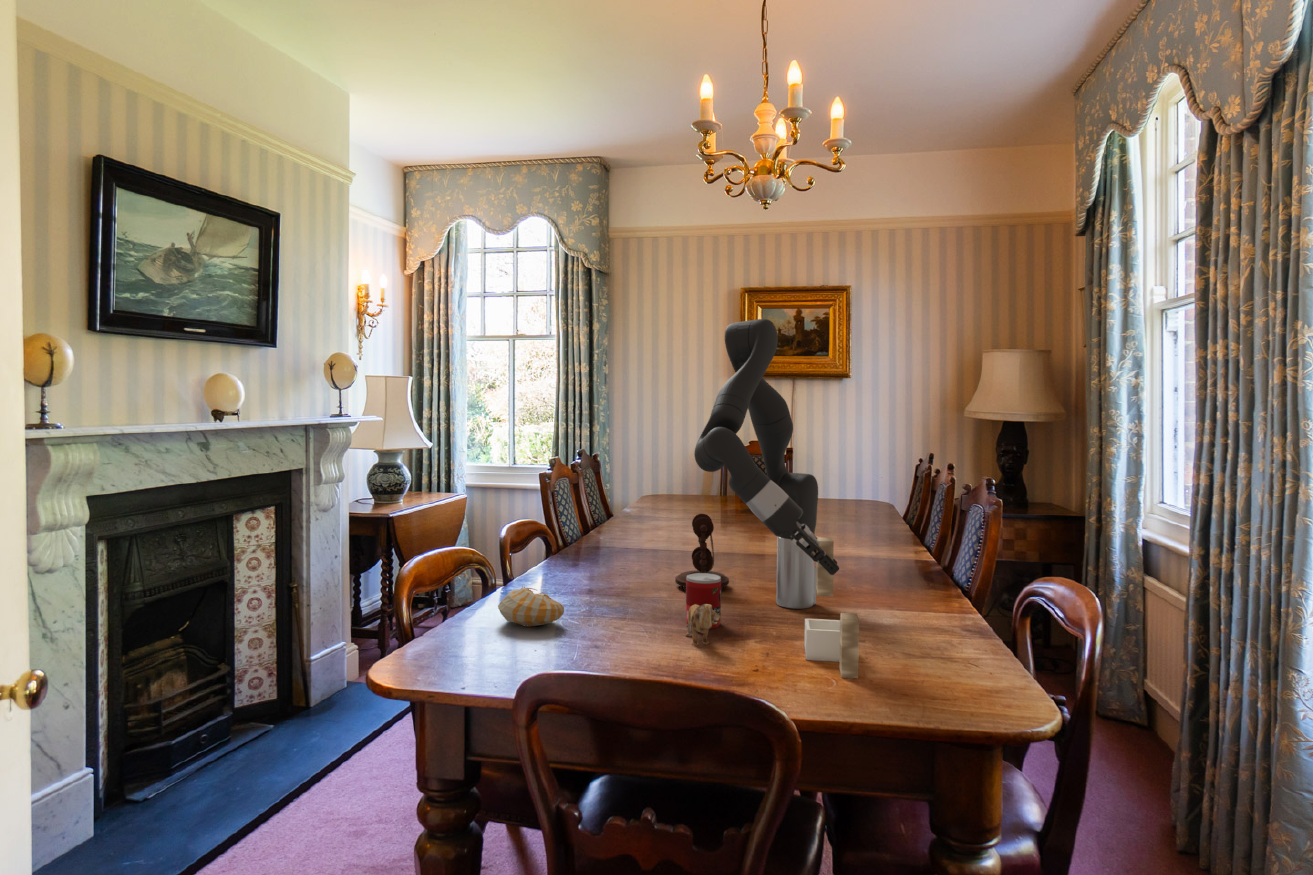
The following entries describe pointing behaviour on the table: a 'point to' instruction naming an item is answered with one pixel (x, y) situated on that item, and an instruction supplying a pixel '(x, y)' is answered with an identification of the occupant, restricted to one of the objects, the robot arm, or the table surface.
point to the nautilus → (530, 608)
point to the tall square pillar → (822, 575)
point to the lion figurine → (701, 621)
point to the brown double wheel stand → (702, 551)
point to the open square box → (822, 640)
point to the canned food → (704, 592)
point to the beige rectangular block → (849, 645)
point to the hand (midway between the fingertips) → (834, 568)
